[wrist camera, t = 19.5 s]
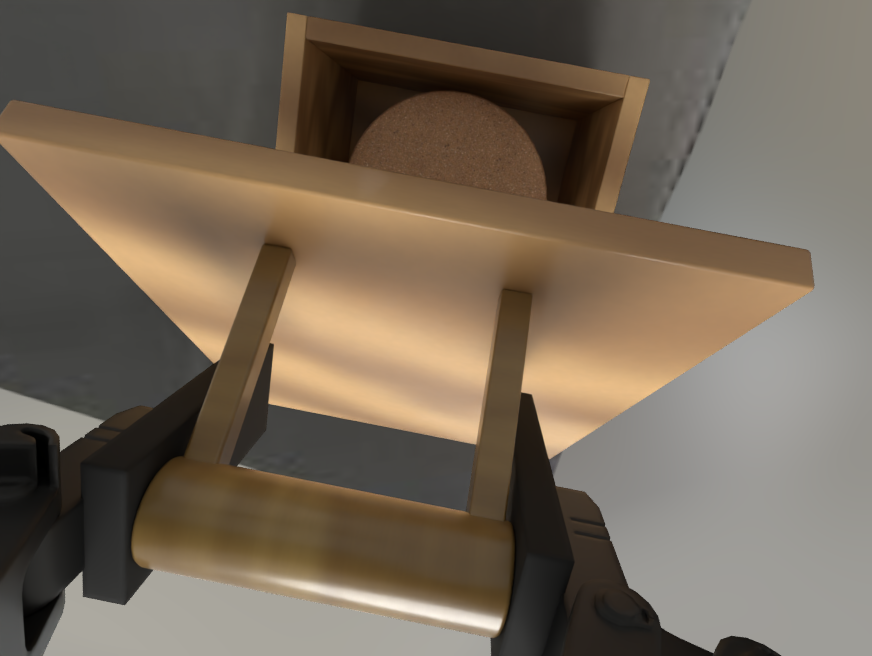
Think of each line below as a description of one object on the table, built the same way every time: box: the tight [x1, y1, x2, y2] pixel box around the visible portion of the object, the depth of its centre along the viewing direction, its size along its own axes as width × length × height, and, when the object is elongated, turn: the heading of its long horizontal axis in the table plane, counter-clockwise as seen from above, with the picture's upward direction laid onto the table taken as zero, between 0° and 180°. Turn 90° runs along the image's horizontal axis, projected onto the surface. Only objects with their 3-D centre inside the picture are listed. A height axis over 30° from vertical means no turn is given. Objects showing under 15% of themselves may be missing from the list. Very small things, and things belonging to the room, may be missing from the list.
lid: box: [0, 100, 814, 638], centre depth 17 cm, size 19×16×8 cm
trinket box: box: [349, 91, 547, 200], centre depth 30 cm, size 11×11×9 cm
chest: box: [276, 13, 650, 213], centre depth 31 cm, size 18×16×12 cm
